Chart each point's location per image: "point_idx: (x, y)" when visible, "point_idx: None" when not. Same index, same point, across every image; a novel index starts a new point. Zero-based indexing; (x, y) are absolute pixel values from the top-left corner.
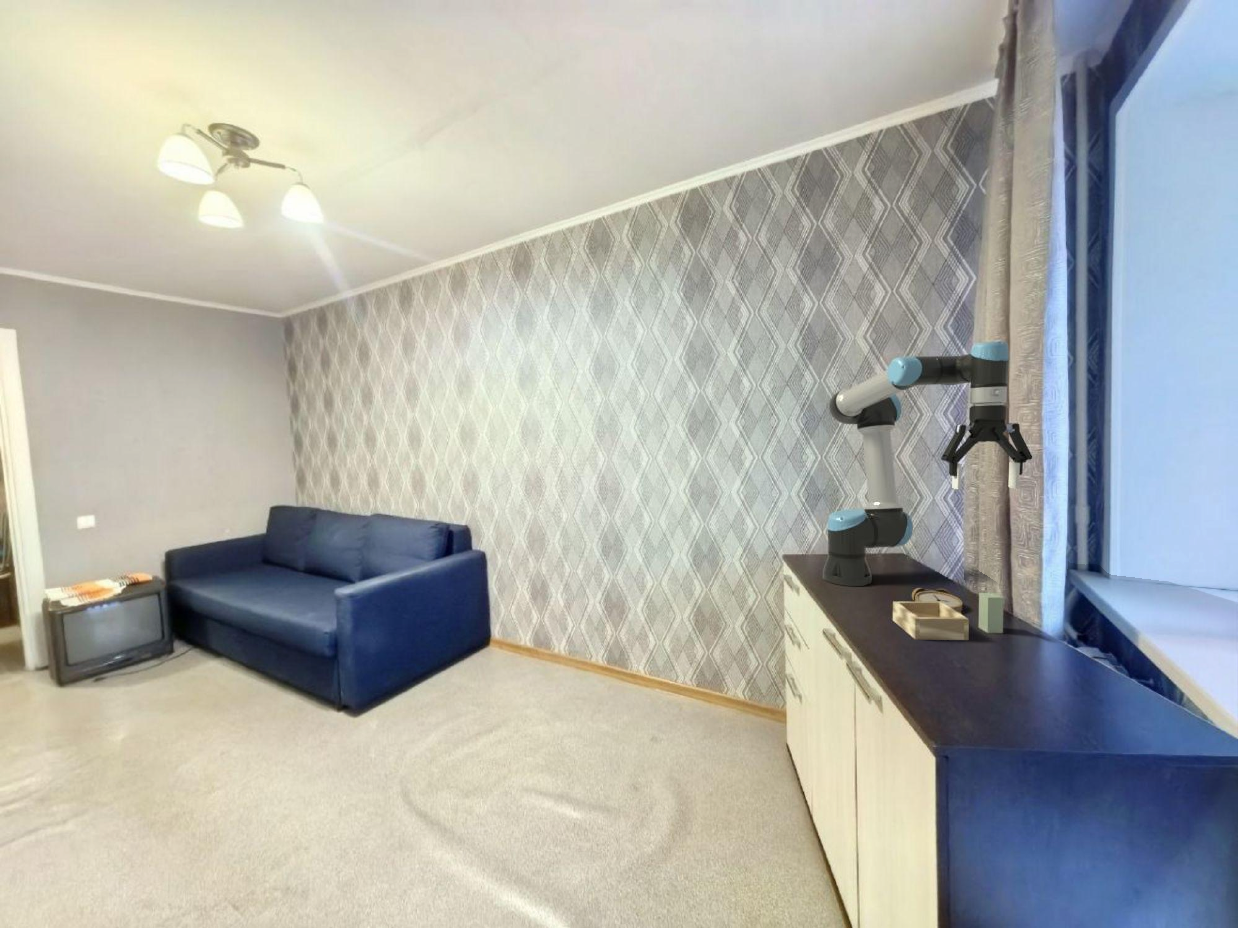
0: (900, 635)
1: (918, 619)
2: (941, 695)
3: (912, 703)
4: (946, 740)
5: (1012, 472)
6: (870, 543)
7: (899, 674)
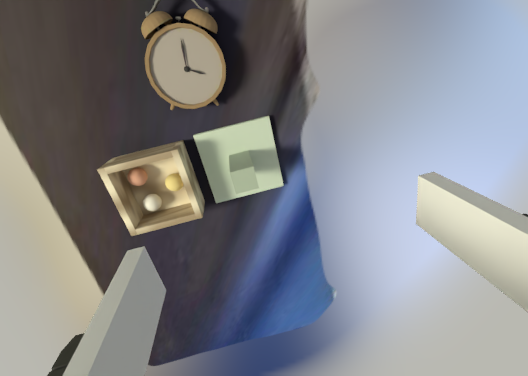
0: None
1: (136, 234)
2: None
3: None
4: (153, 364)
5: (491, 249)
6: None
7: None
